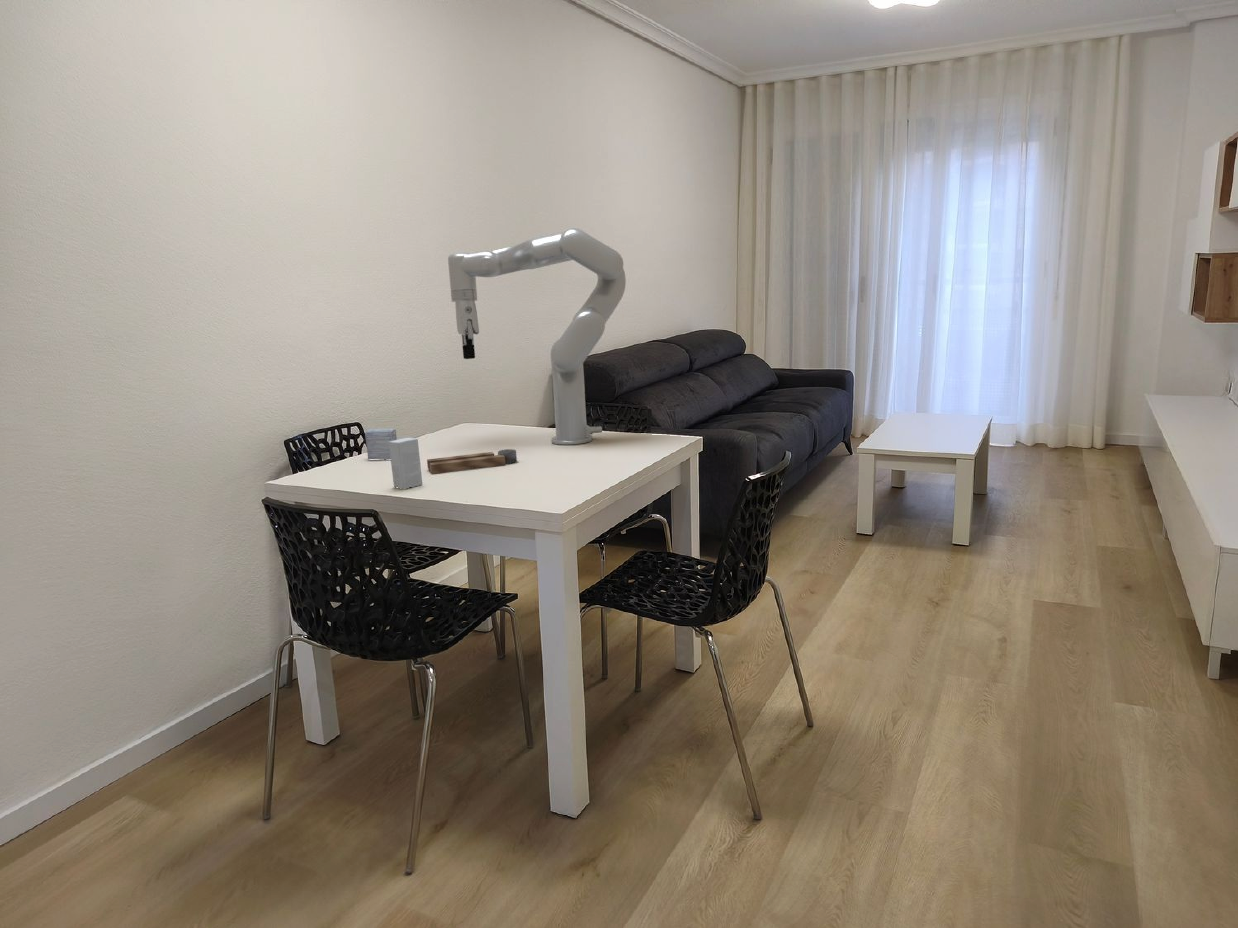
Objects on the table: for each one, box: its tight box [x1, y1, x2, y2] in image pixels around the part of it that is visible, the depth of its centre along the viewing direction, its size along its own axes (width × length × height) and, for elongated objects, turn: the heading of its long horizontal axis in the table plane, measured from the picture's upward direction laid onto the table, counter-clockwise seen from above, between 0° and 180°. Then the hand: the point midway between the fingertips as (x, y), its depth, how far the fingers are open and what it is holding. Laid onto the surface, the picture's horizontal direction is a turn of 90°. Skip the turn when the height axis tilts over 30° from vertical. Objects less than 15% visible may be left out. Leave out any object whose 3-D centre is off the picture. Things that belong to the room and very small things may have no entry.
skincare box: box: [389, 437, 423, 490], centre depth 220 cm, size 6×4×12 cm
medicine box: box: [364, 428, 398, 460], centre depth 258 cm, size 8×4×9 cm, turn 84°
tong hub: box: [429, 449, 518, 475], centre depth 241 cm, size 24×6×3 cm, turn 111°
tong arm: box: [426, 451, 495, 471], centre depth 242 cm, size 18×3×2 cm, turn 111°
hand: (469, 358), depth 264 cm, fingers closed
